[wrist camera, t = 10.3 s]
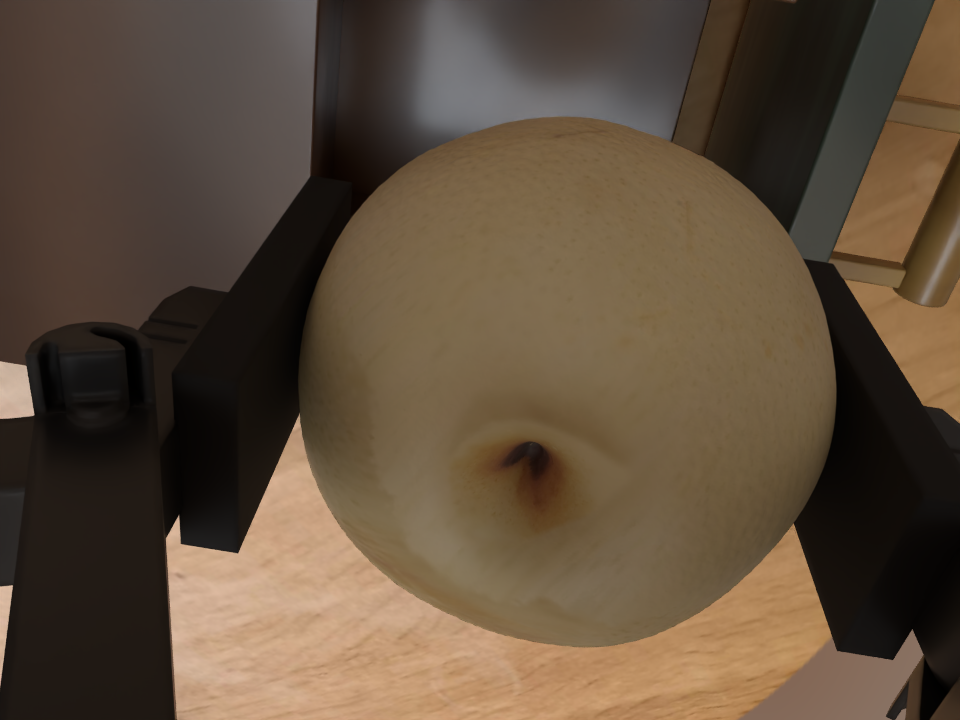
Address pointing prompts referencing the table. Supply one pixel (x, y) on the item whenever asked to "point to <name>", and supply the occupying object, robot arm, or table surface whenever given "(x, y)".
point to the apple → (566, 381)
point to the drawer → (653, 99)
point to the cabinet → (146, 150)
